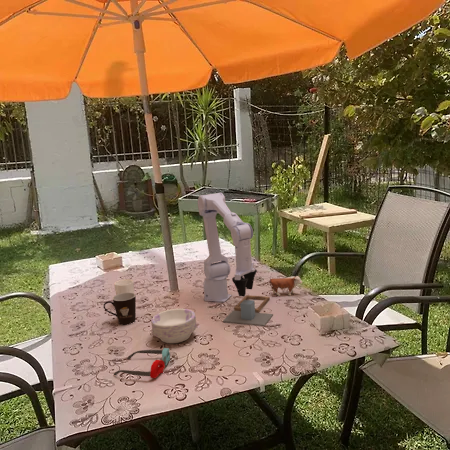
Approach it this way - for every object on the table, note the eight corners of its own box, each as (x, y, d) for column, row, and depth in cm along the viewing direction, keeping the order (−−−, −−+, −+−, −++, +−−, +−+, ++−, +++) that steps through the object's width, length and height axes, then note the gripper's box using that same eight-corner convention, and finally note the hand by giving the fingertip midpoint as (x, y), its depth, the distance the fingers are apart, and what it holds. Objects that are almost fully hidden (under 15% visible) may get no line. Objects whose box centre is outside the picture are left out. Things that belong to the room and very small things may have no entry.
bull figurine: (302, 296, 192) (301, 277, 190) (269, 296, 194) (268, 277, 193) (303, 292, 196) (302, 274, 194) (270, 292, 199) (269, 274, 197)
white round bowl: (148, 334, 166) (146, 313, 165) (189, 325, 172) (187, 304, 171) (160, 352, 153) (157, 329, 151) (203, 340, 158) (201, 318, 157)
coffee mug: (142, 317, 182) (139, 293, 180) (131, 326, 174) (128, 301, 172) (116, 315, 186) (113, 291, 184) (104, 324, 178) (101, 299, 176)
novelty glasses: (158, 383, 135) (156, 367, 134) (110, 380, 138) (108, 364, 137) (174, 359, 148) (172, 344, 147) (130, 357, 151) (128, 343, 150)
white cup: (139, 303, 197) (137, 281, 195) (124, 310, 192) (121, 286, 190) (128, 300, 203) (126, 278, 201) (113, 306, 197) (110, 283, 195)
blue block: (241, 319, 172) (240, 303, 171) (245, 314, 176) (244, 299, 175) (251, 320, 171) (250, 304, 170) (255, 315, 174) (254, 300, 173)
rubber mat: (222, 322, 172) (222, 320, 172) (233, 311, 181) (233, 310, 181) (264, 326, 166) (264, 324, 166) (273, 315, 175) (272, 314, 175)
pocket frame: (234, 310, 182) (233, 307, 182) (246, 297, 195) (246, 295, 194) (258, 312, 178) (258, 309, 178) (269, 299, 191) (269, 296, 191)
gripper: (246, 263, 163) (249, 300, 166) (260, 252, 176) (262, 286, 179) (228, 262, 166) (230, 298, 169) (242, 251, 179) (245, 285, 182)
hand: (245, 292), depth 174 cm, fingers open, 7 cm apart
